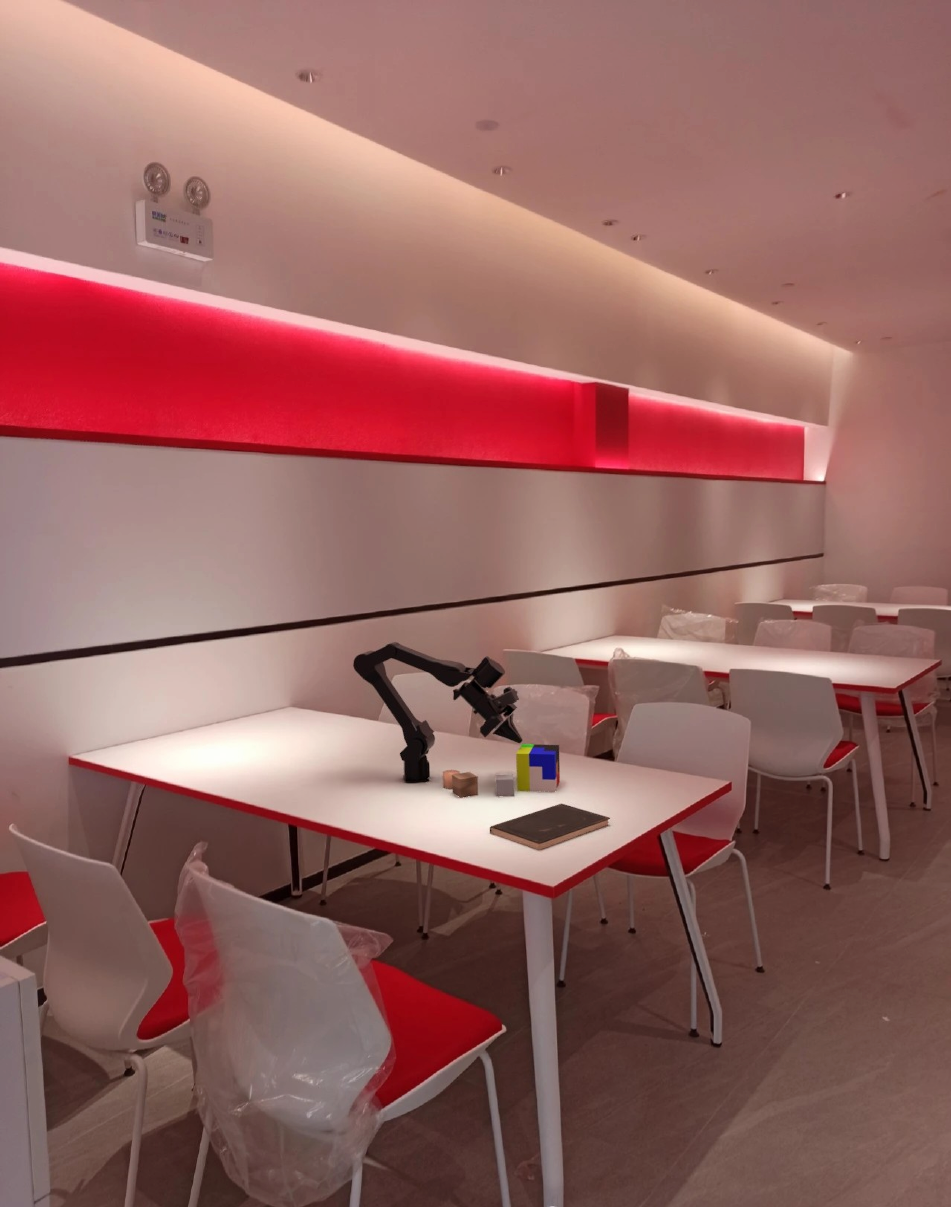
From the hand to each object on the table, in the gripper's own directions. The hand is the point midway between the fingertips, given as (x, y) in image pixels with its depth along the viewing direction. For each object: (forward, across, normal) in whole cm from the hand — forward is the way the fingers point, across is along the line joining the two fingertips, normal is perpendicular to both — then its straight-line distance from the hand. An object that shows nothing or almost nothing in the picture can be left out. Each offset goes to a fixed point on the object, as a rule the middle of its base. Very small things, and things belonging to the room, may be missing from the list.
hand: (521, 741), depth 250 cm
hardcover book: (+19, -33, -1) cm, 38 cm away
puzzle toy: (+12, 0, +5) cm, 13 cm away
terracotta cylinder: (-5, -5, +21) cm, 22 cm away
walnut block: (-1, -10, +17) cm, 20 cm away
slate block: (+6, -8, +10) cm, 15 cm away
